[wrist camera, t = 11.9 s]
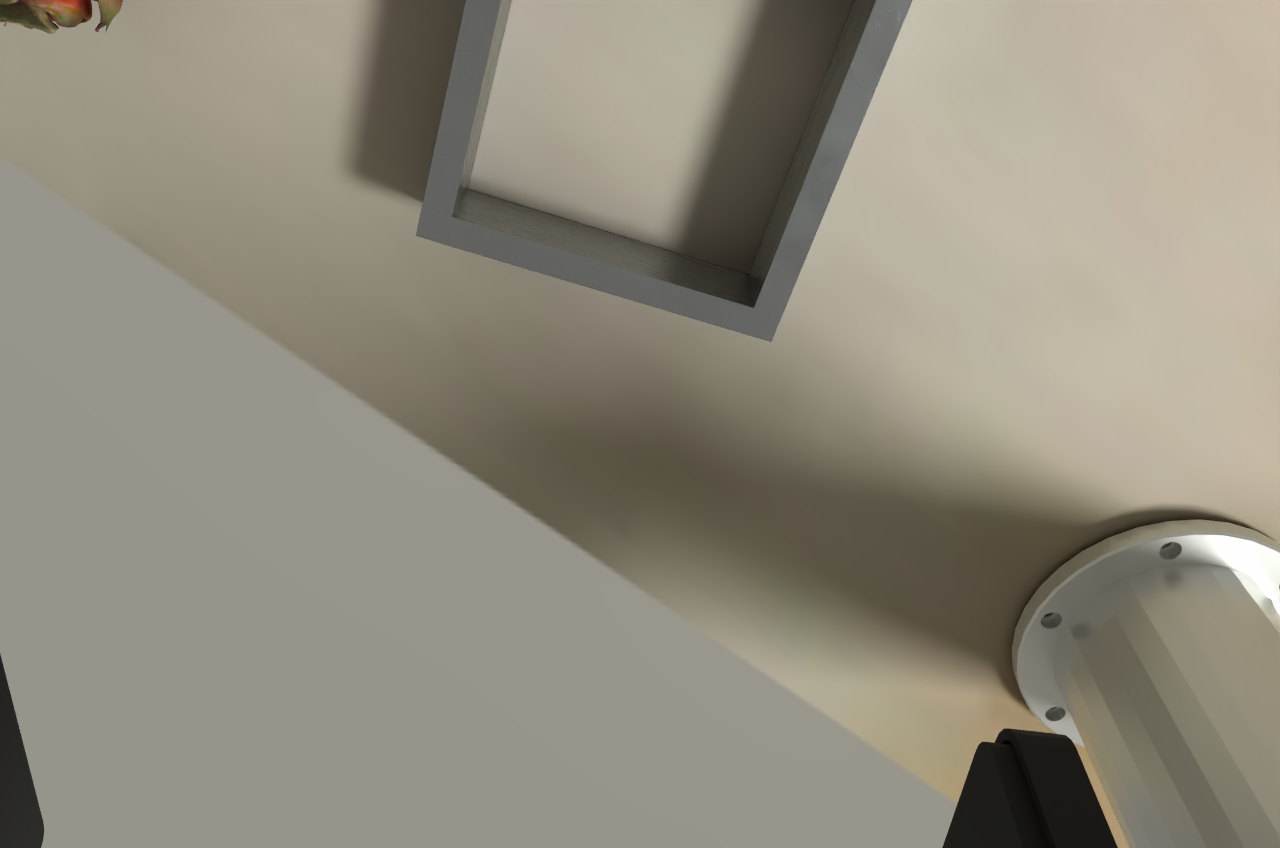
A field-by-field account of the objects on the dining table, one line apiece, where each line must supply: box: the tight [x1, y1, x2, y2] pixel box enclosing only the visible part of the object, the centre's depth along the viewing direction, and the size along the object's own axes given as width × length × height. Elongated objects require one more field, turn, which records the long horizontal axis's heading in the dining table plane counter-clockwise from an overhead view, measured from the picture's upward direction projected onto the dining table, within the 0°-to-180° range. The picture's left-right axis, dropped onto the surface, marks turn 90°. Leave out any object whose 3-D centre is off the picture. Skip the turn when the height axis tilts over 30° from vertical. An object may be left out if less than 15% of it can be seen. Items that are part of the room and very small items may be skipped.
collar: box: [416, 0, 912, 342], centre depth 34 cm, size 12×12×3 cm
